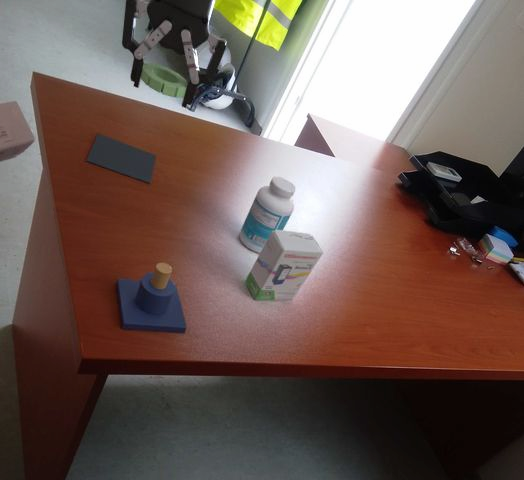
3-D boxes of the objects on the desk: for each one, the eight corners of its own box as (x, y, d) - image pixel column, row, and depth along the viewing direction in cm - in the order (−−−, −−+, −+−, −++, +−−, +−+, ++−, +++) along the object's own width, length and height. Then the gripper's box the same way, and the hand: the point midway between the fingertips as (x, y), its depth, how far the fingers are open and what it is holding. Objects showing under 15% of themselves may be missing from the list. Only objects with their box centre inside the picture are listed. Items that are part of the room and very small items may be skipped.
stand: (122, 329, 63) (134, 287, 57) (116, 283, 68) (127, 241, 62) (184, 333, 67) (201, 294, 62) (174, 290, 72) (189, 251, 67)
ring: (137, 83, 64) (139, 73, 63) (144, 67, 68) (146, 58, 67) (183, 103, 66) (186, 93, 65) (186, 86, 71) (189, 77, 70)
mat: (86, 161, 85) (86, 160, 85) (97, 134, 93) (98, 133, 93) (149, 184, 89) (150, 183, 89) (156, 156, 97) (156, 155, 97)
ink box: (281, 281, 86) (311, 231, 78) (293, 301, 83) (325, 251, 76) (243, 281, 81) (270, 227, 73) (254, 301, 79) (284, 248, 71)
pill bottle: (261, 231, 95) (290, 174, 86) (278, 255, 92) (310, 198, 83) (231, 230, 91) (258, 169, 82) (247, 255, 87) (277, 194, 78)
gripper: (246, -15, 62) (207, 105, 73) (140, -72, 57) (116, 66, 68) (247, -3, 57) (205, 125, 68) (130, -64, 52) (106, 84, 63)
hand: (160, 95), depth 68 cm, fingers closed on ring, 6 cm apart
